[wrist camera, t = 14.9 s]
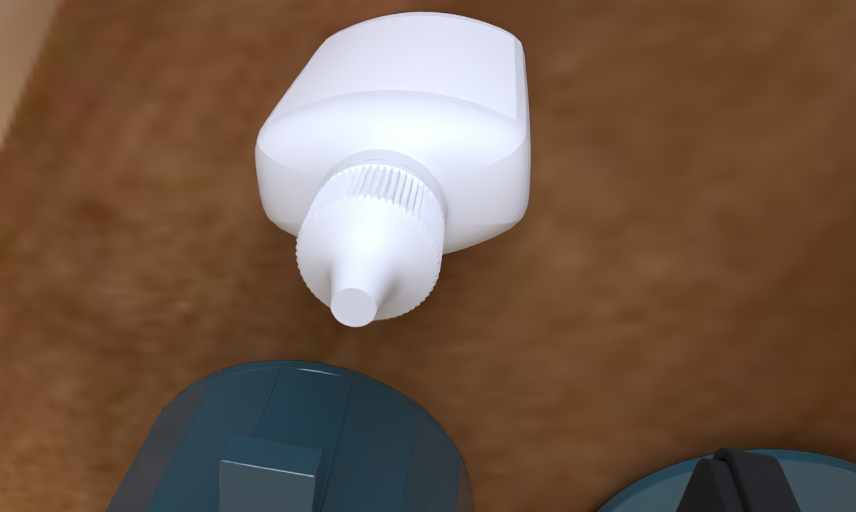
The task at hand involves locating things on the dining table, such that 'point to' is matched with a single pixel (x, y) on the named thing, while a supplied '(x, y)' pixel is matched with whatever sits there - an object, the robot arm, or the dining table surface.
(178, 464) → the pot
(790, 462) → the lid
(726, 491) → the robot arm
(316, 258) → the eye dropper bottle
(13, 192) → the dining table surface
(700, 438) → the dining table surface
